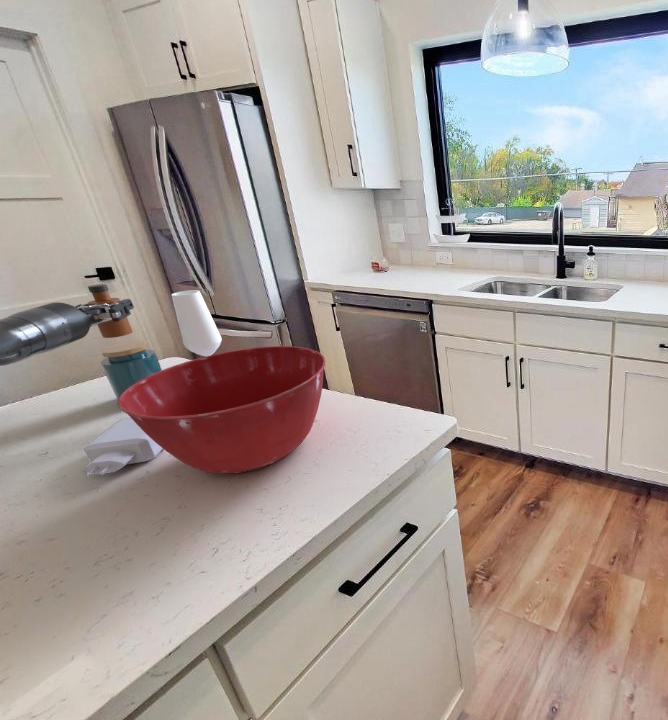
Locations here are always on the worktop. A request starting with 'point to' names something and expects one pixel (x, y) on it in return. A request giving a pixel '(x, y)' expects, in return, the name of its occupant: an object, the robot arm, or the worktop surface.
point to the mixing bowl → (230, 406)
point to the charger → (119, 448)
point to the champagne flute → (196, 323)
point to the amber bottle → (103, 297)
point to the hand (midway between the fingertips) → (115, 304)
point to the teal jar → (128, 364)
